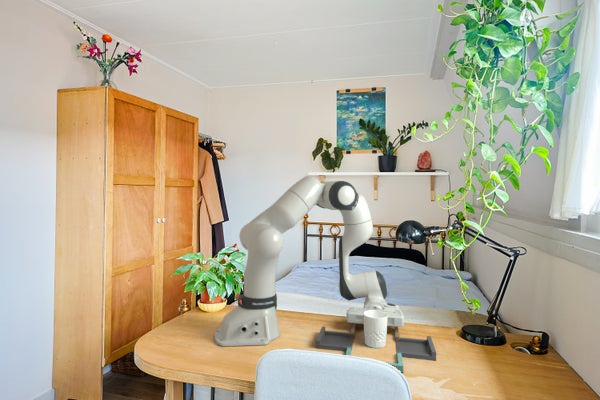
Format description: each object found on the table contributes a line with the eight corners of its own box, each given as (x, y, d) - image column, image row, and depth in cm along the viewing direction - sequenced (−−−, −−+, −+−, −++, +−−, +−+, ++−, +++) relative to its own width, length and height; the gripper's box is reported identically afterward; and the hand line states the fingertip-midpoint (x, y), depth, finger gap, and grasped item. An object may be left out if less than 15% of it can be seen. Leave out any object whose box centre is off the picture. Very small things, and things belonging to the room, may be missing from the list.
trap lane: (326, 323, 137) (326, 317, 137) (426, 332, 129) (426, 325, 129) (309, 362, 106) (309, 354, 106) (441, 377, 98) (441, 368, 98)
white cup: (361, 346, 117) (361, 316, 117) (365, 337, 124) (365, 308, 124) (385, 350, 114) (386, 319, 114) (388, 341, 122) (389, 311, 121)
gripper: (347, 301, 139) (344, 313, 125) (402, 305, 134) (405, 318, 121) (347, 317, 139) (343, 331, 125) (402, 322, 134) (405, 336, 121)
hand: (374, 324), depth 123 cm, fingers closed, pressing on white cup
